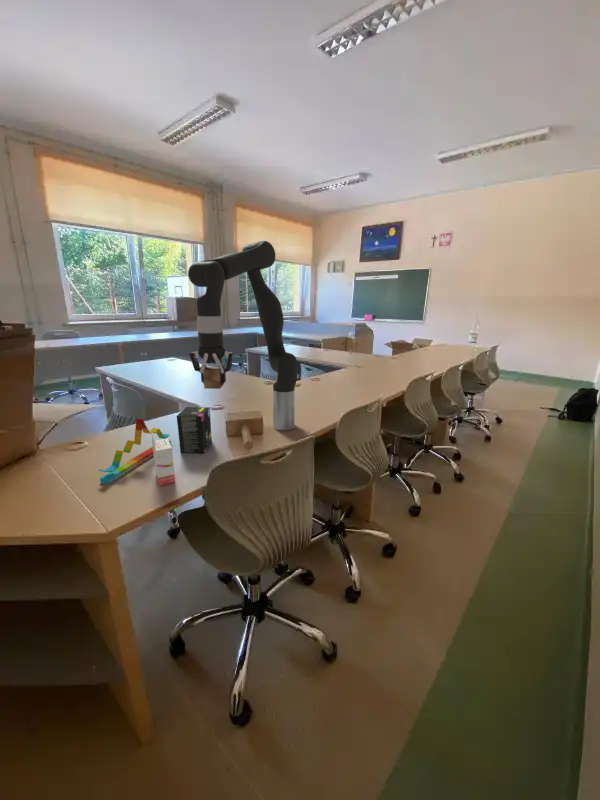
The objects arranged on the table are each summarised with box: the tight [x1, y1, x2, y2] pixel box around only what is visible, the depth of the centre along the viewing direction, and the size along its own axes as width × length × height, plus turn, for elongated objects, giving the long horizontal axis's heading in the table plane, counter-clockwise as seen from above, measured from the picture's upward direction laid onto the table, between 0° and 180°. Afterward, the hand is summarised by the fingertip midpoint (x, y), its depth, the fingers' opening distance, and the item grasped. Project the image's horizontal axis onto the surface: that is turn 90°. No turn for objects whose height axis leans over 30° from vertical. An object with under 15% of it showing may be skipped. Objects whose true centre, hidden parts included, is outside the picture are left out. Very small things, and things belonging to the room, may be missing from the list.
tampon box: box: [176, 406, 213, 454], centre depth 127 cm, size 11×9×15 cm
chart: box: [98, 418, 172, 485], centre depth 116 cm, size 30×3×15 cm, turn 164°
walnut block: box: [203, 365, 225, 390], centre depth 110 cm, size 5×5×6 cm
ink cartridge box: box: [151, 433, 176, 487], centre depth 105 cm, size 9×5×15 cm, turn 29°
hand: (213, 383), depth 110 cm, fingers closed on walnut block, 5 cm apart
